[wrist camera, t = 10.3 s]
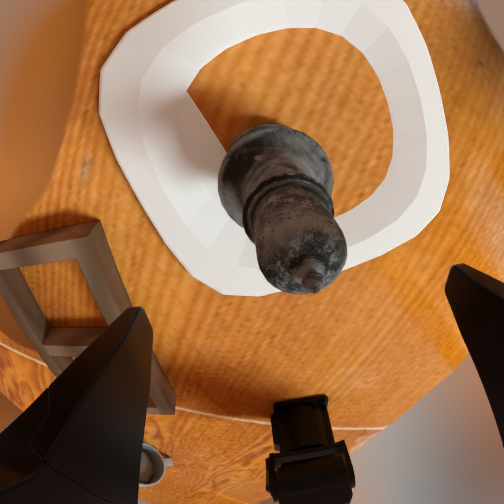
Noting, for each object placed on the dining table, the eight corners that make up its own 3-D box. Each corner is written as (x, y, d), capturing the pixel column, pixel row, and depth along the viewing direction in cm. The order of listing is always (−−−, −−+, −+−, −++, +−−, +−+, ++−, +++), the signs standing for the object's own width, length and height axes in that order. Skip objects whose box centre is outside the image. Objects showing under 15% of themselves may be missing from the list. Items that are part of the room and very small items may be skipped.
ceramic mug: (107, 444, 41) (101, 482, 34) (125, 434, 38) (119, 477, 31) (159, 463, 45) (157, 498, 39) (183, 454, 42) (181, 494, 36)
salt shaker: (316, 206, 20) (392, 346, 10) (226, 214, 20) (220, 370, 10) (315, 116, 17) (431, 180, 6) (214, 123, 17) (182, 197, 6)
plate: (212, 305, 26) (211, 319, 24) (77, 63, 15) (65, 63, 14) (447, 215, 23) (458, 224, 21) (377, -44, 12) (388, -51, 10)
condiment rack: (100, 220, 20) (86, 236, 18) (176, 396, 32) (174, 414, 30) (-4, 242, 20) (-19, 257, 18) (88, 393, 32) (84, 409, 30)
